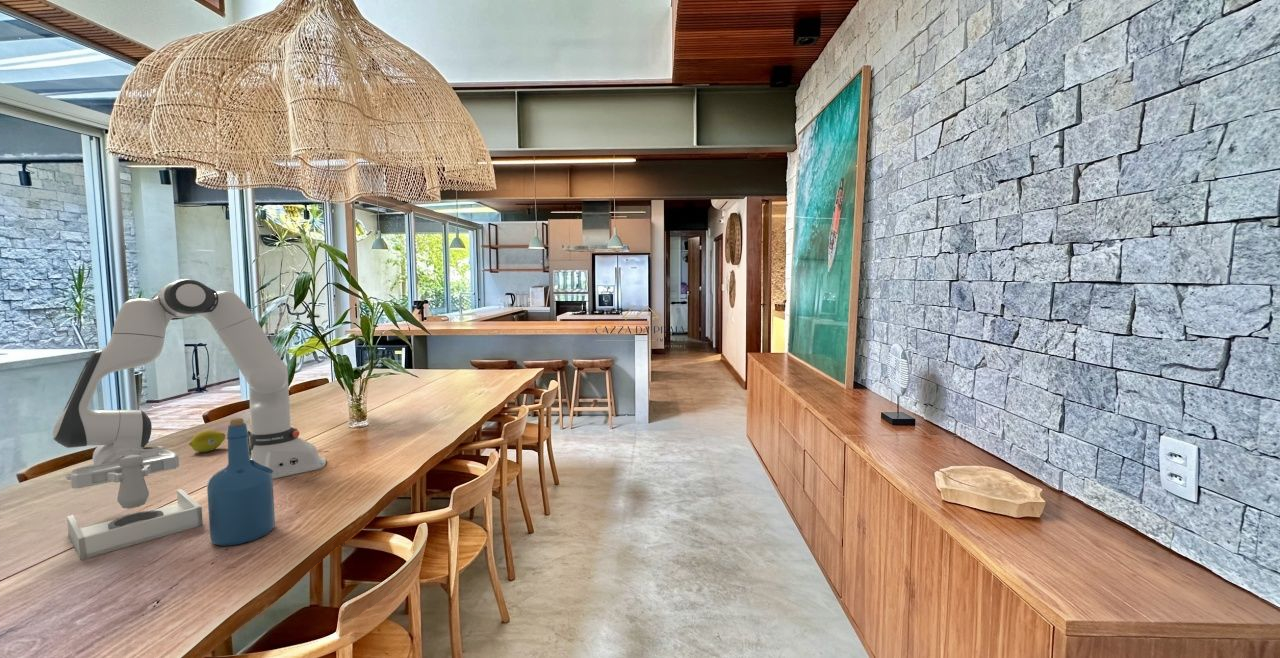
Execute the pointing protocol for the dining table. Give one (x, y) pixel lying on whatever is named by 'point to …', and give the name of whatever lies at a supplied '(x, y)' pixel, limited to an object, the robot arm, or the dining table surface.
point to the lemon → (207, 441)
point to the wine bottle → (240, 494)
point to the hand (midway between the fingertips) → (132, 475)
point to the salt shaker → (132, 483)
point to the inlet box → (135, 527)
